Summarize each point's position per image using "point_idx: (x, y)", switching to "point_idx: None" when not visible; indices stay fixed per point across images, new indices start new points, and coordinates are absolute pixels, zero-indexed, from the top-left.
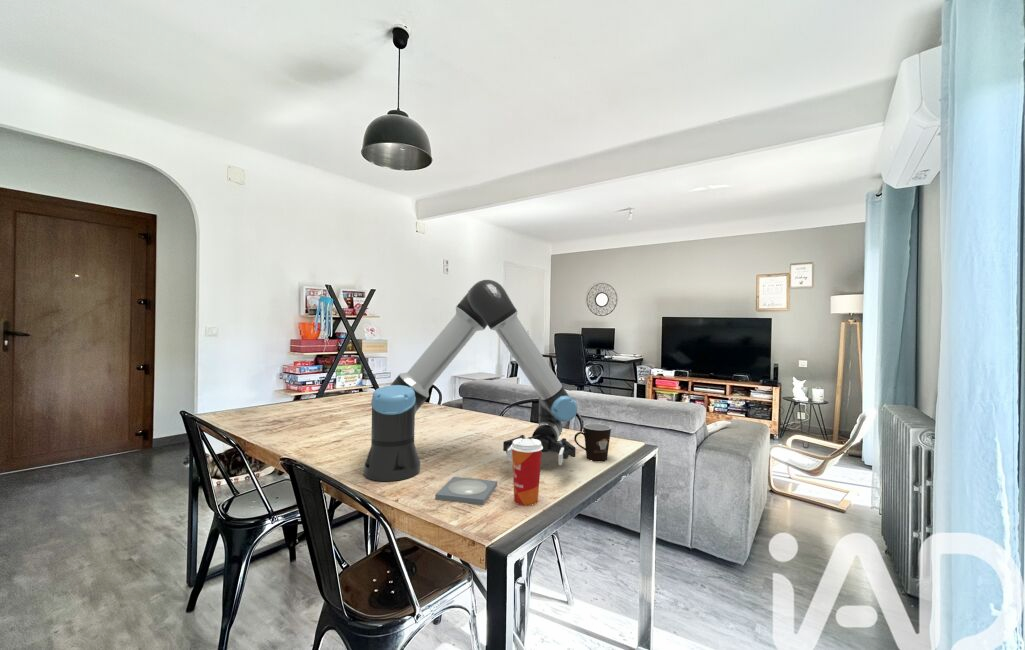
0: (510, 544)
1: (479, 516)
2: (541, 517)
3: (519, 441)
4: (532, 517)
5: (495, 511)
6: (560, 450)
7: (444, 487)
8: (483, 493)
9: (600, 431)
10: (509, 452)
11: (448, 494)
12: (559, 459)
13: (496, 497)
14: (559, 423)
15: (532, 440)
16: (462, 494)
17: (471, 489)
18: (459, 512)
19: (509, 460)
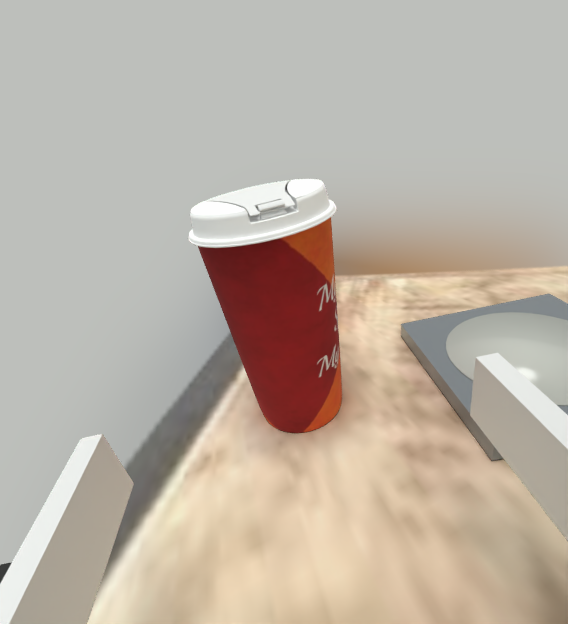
0: None
1: (370, 307)
2: (236, 352)
3: (291, 187)
4: None
5: (351, 330)
6: (45, 544)
7: None
8: (434, 344)
9: None
10: (476, 368)
11: (517, 305)
12: (112, 458)
13: (404, 379)
14: None
15: (234, 205)
16: (481, 317)
17: (495, 344)
18: (423, 300)
19: (471, 413)
